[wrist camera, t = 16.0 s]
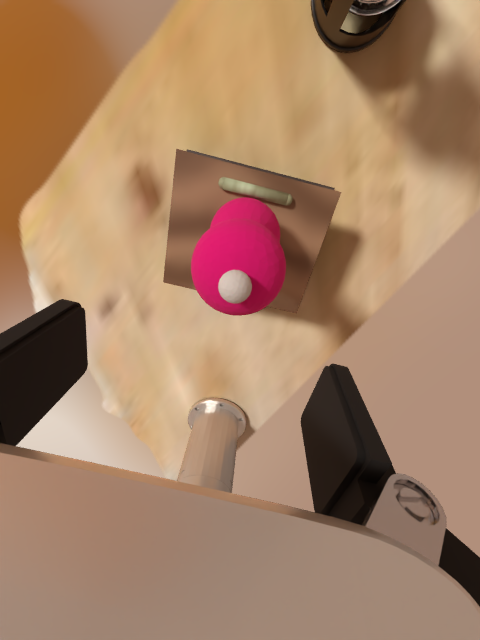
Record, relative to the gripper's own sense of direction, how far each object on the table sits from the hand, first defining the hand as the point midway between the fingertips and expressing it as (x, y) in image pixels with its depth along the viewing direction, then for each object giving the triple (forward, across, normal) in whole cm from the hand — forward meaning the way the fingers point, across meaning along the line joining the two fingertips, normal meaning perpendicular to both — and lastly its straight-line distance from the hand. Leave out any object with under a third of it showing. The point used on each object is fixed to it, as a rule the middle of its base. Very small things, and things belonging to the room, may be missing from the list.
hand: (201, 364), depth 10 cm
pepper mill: (+24, 0, -2) cm, 24 cm away
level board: (+26, 0, 0) cm, 26 cm away
